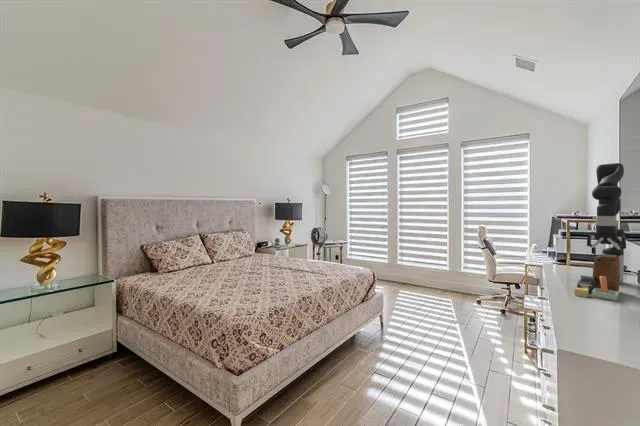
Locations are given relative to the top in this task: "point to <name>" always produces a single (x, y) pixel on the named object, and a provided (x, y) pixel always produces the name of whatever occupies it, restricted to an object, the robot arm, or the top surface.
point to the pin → (603, 284)
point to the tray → (605, 294)
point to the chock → (581, 292)
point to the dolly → (586, 283)
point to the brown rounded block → (607, 271)
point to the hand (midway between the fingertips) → (605, 255)
